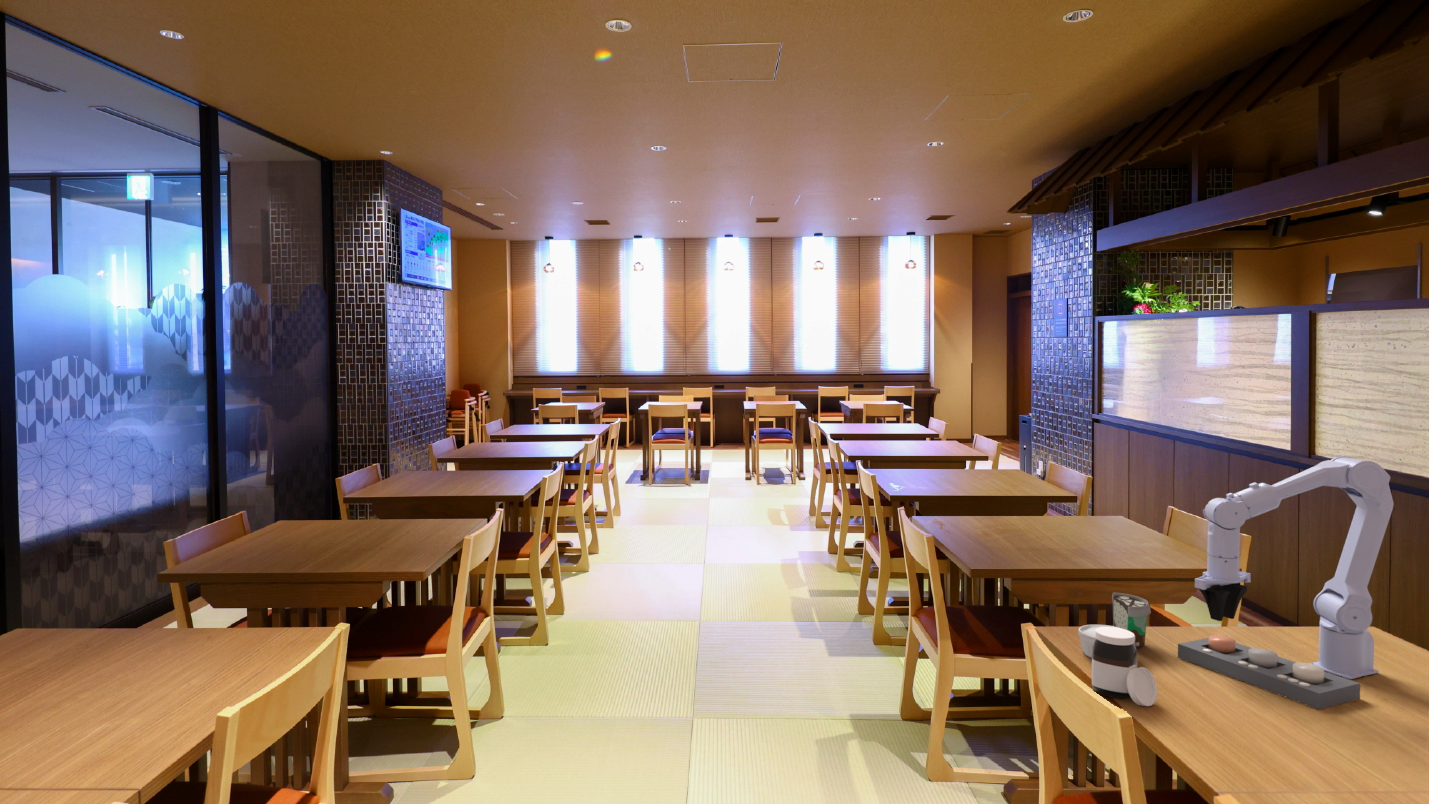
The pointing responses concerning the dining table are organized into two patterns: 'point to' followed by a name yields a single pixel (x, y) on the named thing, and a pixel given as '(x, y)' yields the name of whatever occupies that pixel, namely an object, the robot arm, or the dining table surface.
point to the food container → (1131, 615)
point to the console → (1271, 675)
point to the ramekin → (1088, 637)
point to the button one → (1222, 644)
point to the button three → (1308, 673)
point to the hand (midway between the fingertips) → (1222, 618)
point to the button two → (1262, 657)
